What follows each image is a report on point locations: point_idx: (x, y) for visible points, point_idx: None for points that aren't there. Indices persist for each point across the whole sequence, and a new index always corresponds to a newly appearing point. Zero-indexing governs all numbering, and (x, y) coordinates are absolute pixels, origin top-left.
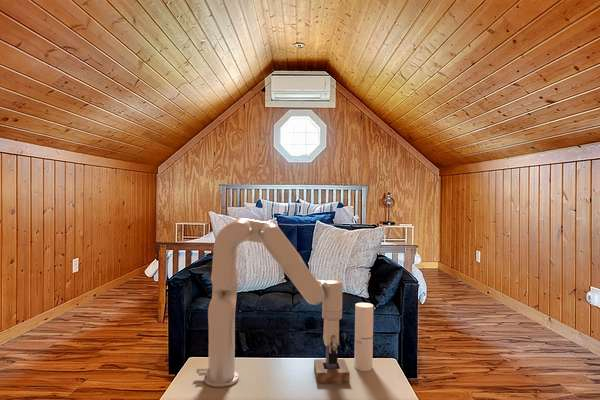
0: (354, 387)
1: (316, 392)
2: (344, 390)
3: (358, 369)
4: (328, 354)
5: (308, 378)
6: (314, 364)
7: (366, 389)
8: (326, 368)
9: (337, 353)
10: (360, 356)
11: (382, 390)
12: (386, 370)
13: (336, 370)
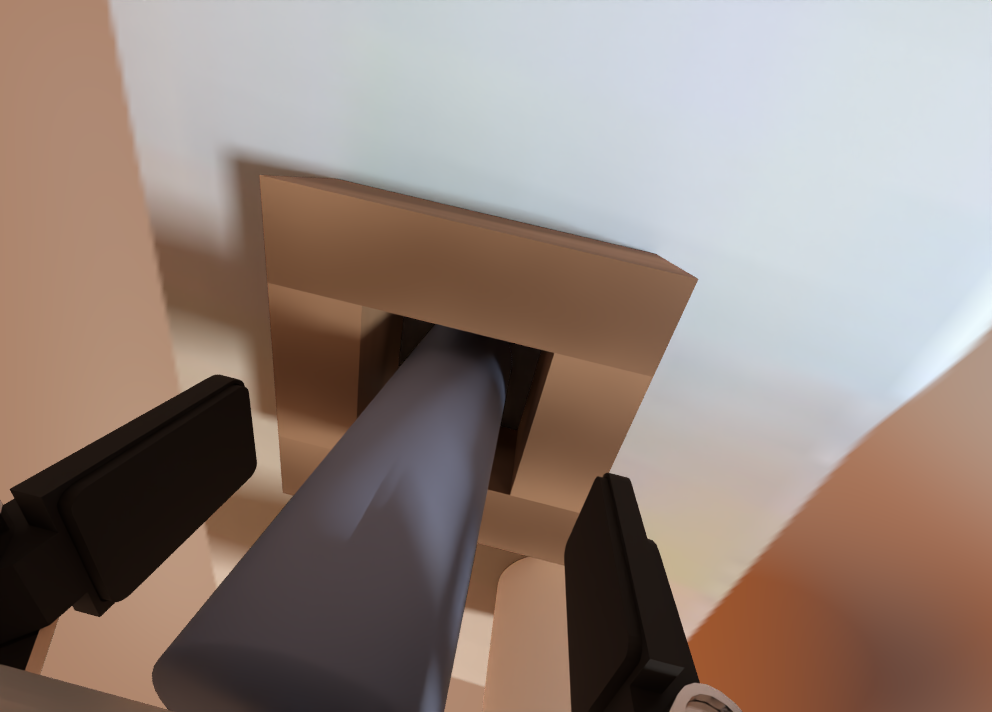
0: (276, 436)
1: (165, 116)
2: (229, 362)
3: (524, 560)
4: (313, 473)
5: (463, 119)
6: (617, 254)
7: (254, 483)
8: (435, 346)
9: (80, 602)
10: (503, 677)
11: (248, 541)
12: (476, 653)
13: (323, 413)
